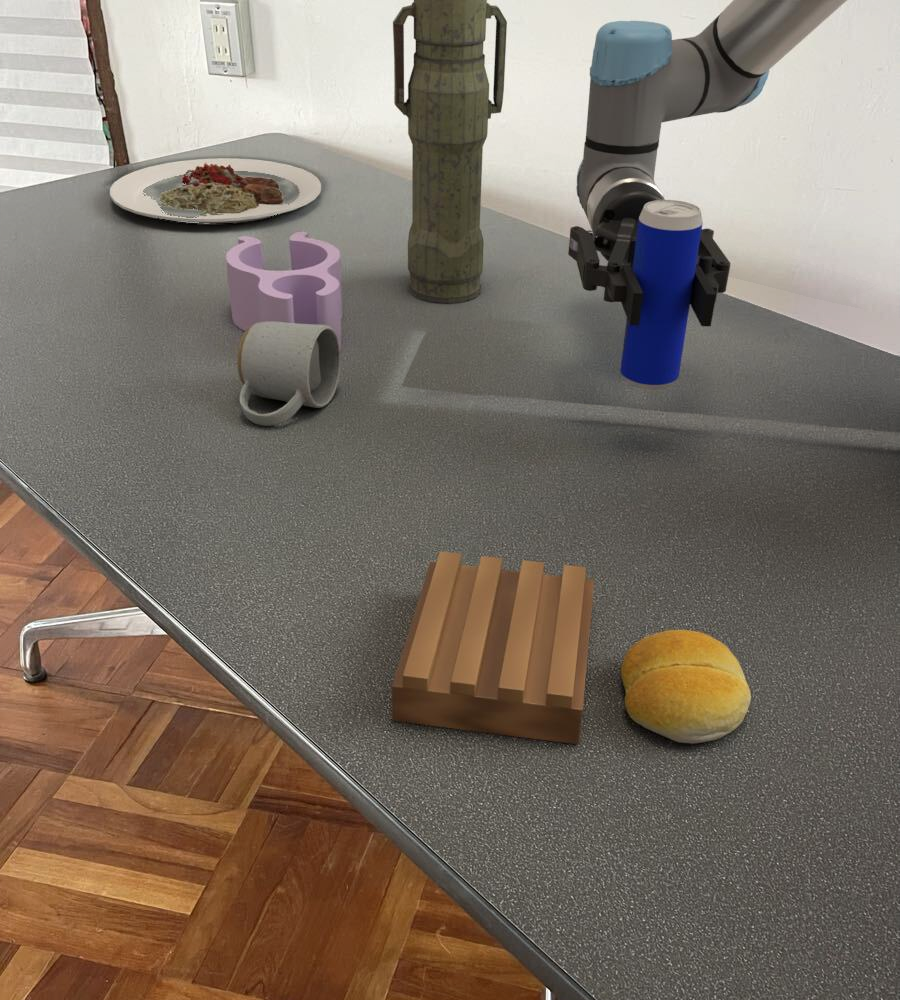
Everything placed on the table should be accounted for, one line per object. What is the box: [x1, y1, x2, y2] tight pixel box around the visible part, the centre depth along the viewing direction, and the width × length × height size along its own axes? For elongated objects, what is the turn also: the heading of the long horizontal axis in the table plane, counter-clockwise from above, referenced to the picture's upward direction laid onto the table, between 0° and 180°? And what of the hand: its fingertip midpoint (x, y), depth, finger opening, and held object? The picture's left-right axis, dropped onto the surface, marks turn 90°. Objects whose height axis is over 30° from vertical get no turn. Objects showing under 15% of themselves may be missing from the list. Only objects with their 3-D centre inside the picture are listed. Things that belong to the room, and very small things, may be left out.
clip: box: [225, 231, 344, 352], centre depth 118 cm, size 20×12×7 cm, turn 17°
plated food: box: [109, 157, 322, 224], centre depth 155 cm, size 30×30×3 cm
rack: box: [391, 550, 595, 745], centre depth 73 cm, size 12×14×4 cm
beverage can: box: [620, 199, 704, 391], centre depth 91 cm, size 5×5×15 cm
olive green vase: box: [392, 0, 508, 304], centre depth 119 cm, size 9×12×35 cm
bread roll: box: [620, 629, 752, 744], centre depth 70 cm, size 8×9×4 cm
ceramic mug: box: [236, 321, 342, 427], centre depth 102 cm, size 11×8×8 cm
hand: (672, 309), depth 87 cm, fingers closed on beverage can, 5 cm apart
